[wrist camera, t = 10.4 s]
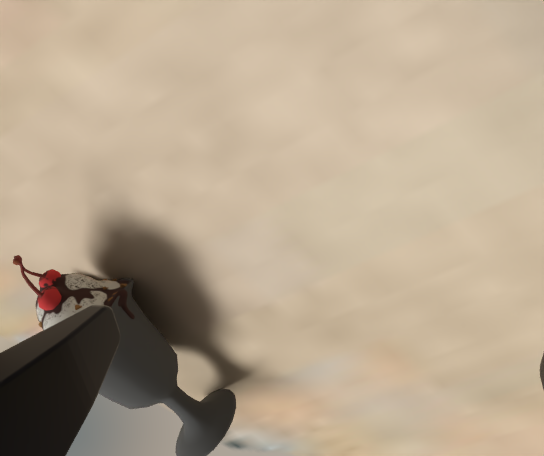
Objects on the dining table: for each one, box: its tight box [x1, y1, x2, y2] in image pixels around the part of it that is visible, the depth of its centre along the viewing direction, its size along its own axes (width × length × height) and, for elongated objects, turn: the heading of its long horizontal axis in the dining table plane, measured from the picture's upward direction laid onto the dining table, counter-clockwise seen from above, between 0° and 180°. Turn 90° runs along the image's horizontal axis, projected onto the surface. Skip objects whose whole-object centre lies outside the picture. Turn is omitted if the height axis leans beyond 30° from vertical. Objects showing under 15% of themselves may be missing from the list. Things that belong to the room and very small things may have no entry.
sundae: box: [13, 255, 236, 456], centre depth 24 cm, size 7×7×15 cm
